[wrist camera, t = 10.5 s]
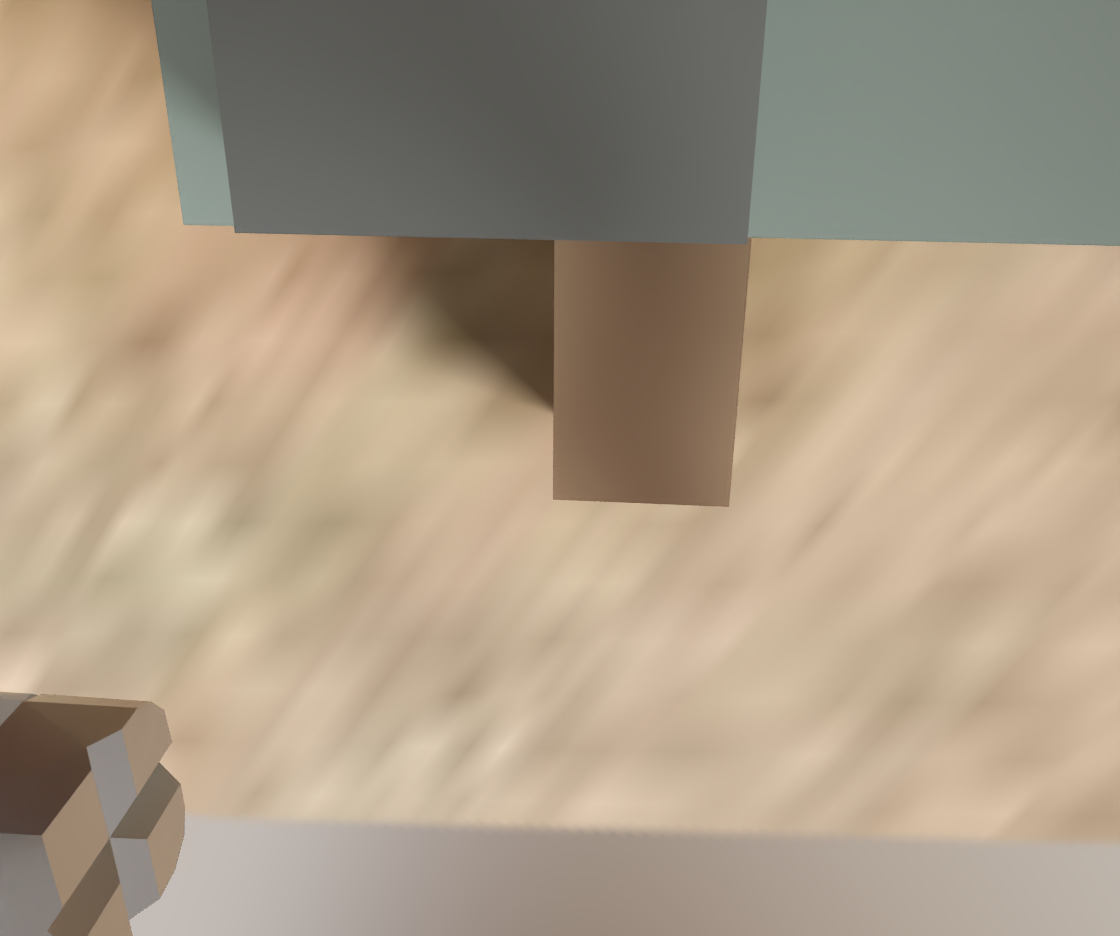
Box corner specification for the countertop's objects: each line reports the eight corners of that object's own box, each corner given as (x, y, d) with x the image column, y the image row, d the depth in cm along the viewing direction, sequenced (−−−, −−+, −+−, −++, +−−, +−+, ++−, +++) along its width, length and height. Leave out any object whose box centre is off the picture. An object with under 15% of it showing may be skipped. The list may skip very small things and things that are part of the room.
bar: (788, -549, 19) (831, -726, 15) (715, 425, 27) (728, 506, 23) (580, -543, 19) (558, -715, 15) (569, 420, 28) (553, 499, 23)
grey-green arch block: (983, -87, 22) (1449, -234, 9) (946, 151, 24) (1284, 302, 11) (354, -87, 23) (-13, -220, 10) (370, 142, 25) (80, 270, 12)
